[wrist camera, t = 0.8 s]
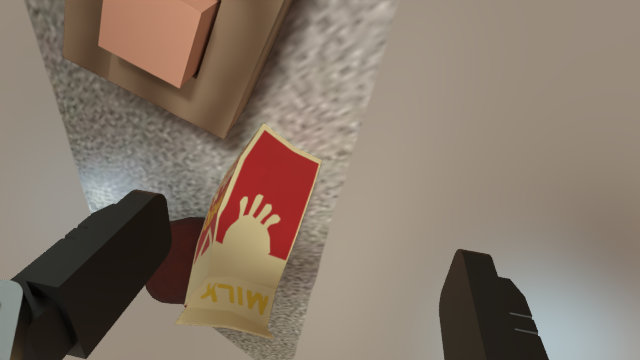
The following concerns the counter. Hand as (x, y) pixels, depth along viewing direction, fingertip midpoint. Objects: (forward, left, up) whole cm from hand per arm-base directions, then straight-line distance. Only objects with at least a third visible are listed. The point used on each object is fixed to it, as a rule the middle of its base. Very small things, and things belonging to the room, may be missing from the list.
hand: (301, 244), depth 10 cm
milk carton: (+1, -20, -26) cm, 33 cm away
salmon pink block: (-12, -6, -21) cm, 25 cm away
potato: (-3, -35, -26) cm, 44 cm away
